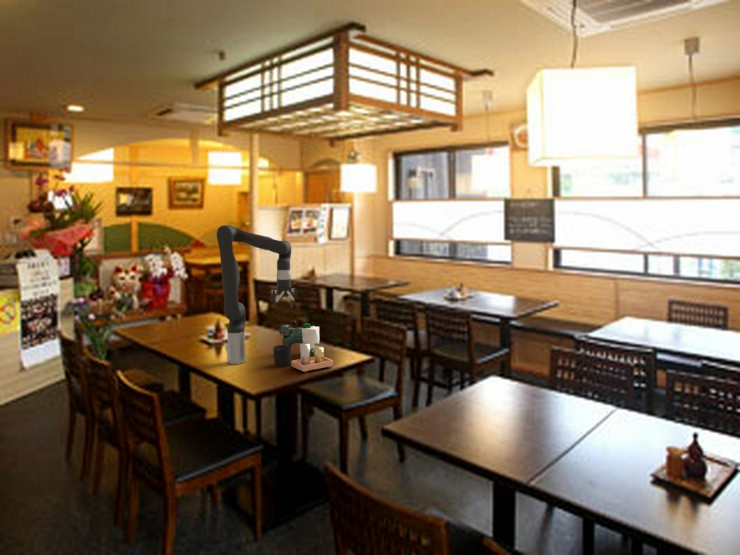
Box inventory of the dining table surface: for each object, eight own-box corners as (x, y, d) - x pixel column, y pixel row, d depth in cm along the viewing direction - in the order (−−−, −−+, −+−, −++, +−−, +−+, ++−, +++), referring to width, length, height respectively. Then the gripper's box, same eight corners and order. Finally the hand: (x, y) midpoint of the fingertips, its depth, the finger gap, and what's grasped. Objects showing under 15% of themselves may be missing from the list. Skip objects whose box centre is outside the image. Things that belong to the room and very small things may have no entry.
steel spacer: (303, 366, 279) (302, 345, 277) (298, 364, 283) (298, 343, 281) (311, 364, 281) (311, 344, 280) (307, 362, 285) (306, 342, 284)
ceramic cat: (279, 354, 313) (278, 320, 311) (284, 351, 319) (282, 318, 317) (312, 356, 308) (311, 321, 306) (315, 353, 315) (314, 319, 312)
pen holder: (288, 361, 298) (287, 343, 296) (294, 365, 289) (293, 347, 288) (271, 364, 293) (271, 346, 292) (277, 368, 285) (276, 349, 284)
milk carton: (306, 356, 307) (305, 322, 305) (321, 357, 305) (320, 322, 303) (301, 360, 299) (300, 325, 296) (317, 361, 297) (316, 325, 295)
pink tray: (302, 373, 274) (302, 366, 274) (291, 368, 285) (291, 360, 284) (333, 367, 284) (333, 360, 284) (321, 362, 295) (321, 355, 294)
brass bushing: (317, 364, 283) (316, 349, 282) (312, 362, 287) (312, 347, 286) (325, 362, 286) (325, 347, 285) (320, 360, 290) (320, 345, 289)
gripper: (293, 276, 296) (293, 305, 298) (268, 278, 288) (269, 308, 290) (299, 278, 289) (299, 307, 291) (274, 279, 282) (274, 310, 284)
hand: (284, 308), depth 291 cm, fingers open, 8 cm apart
